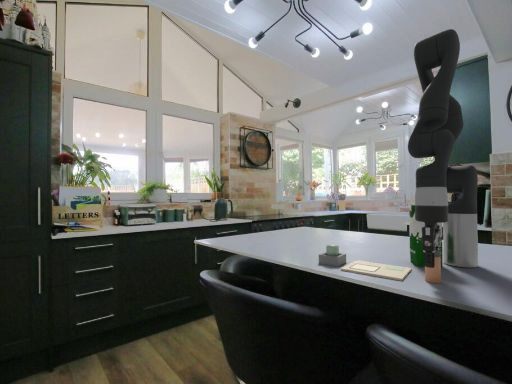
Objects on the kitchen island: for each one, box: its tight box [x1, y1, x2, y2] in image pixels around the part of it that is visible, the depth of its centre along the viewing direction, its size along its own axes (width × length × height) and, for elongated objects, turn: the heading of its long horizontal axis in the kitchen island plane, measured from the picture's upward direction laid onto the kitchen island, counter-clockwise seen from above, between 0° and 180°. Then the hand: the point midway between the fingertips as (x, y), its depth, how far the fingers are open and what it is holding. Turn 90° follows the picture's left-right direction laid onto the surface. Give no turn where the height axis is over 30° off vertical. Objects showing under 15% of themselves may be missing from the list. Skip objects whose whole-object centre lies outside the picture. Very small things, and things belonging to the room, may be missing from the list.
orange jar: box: [424, 250, 442, 284], centre depth 72 cm, size 4×4×8 cm
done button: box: [325, 244, 340, 256], centre depth 93 cm, size 4×4×4 cm
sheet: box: [340, 259, 413, 282], centre depth 83 cm, size 14×17×1 cm
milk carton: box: [408, 204, 443, 268], centre depth 90 cm, size 9×9×20 cm
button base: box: [318, 251, 347, 267], centre depth 92 cm, size 7×7×3 cm
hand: (431, 264), depth 72 cm, fingers open, 8 cm apart
